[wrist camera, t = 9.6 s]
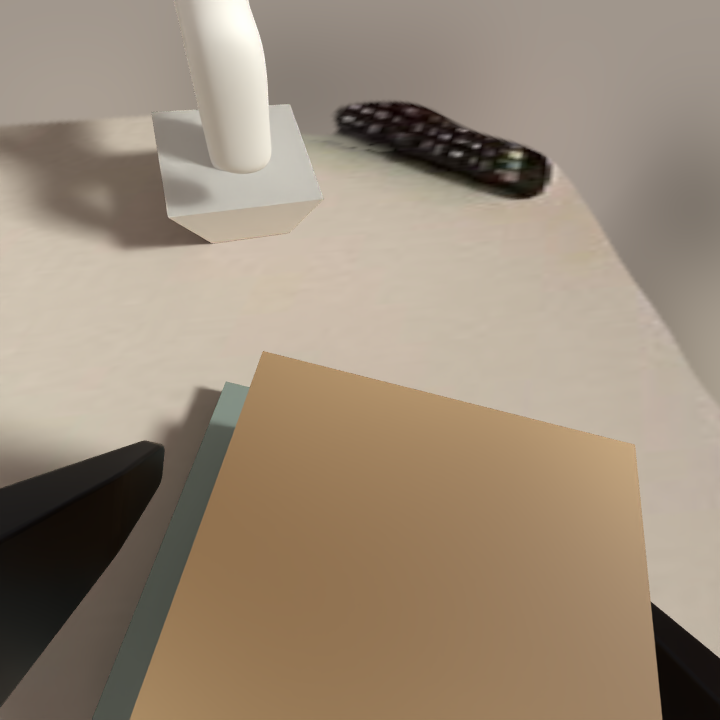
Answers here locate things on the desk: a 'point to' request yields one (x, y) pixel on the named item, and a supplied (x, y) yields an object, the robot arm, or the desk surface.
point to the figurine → (231, 135)
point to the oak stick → (408, 566)
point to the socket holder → (170, 562)
